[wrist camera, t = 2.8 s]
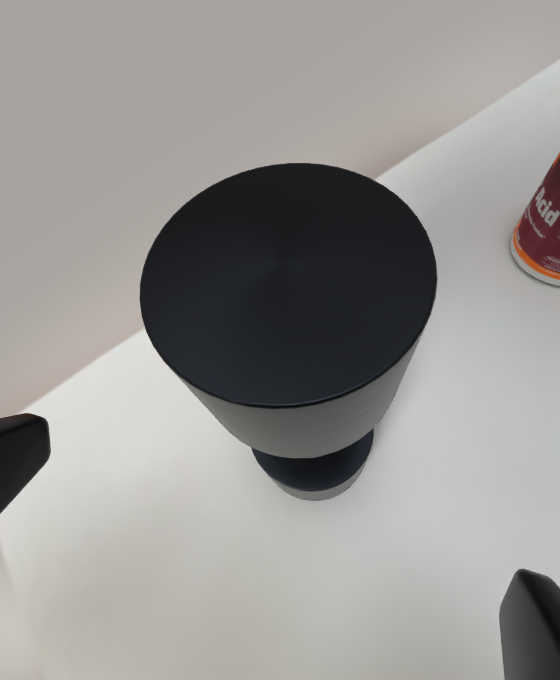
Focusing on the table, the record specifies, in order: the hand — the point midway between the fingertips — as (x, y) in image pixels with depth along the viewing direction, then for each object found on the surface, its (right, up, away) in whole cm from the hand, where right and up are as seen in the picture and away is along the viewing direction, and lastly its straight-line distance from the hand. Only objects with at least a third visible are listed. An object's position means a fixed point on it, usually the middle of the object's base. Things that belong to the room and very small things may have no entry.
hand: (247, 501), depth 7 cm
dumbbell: (+2, -2, +10) cm, 11 cm away
